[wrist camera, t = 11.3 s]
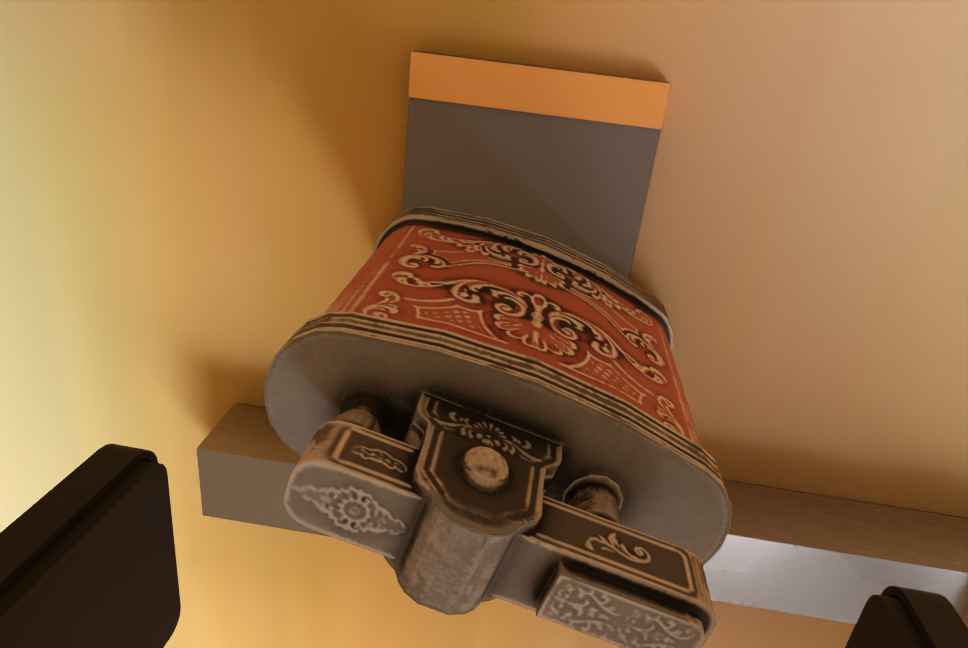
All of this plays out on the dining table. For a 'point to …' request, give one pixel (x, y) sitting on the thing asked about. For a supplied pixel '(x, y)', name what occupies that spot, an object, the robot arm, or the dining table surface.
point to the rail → (729, 573)
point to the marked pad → (535, 149)
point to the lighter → (505, 433)
